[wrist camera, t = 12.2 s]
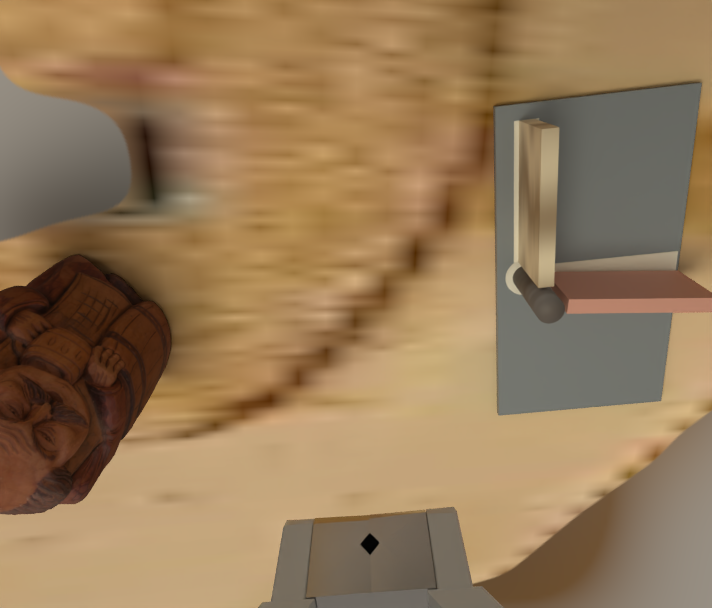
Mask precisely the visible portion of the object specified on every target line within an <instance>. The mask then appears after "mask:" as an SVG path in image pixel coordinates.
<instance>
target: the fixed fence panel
mask: <svg viewBox="0 0 712 608" xmlns="http://www.w3.org/2000/svg"><path fill="white" fill-rule="evenodd" d="M558 156H559V127H557V126H554V125H551V124H548V123H545V122H542V121H539V120H536V119H529V120H520V121H519V221H518V263H519V264H520V265H521V267H519V268H518V269H517V270H516V271H515V272H514V274H513V282H514V284H515V286H516V287H517V289H518V290H519V292H520V293H521V294H522V296H523V297H524V299H525V300H526V302H527V303H528V305H529V306H530V307H531V309H532V310H533V312H534V313H535V315H536V316H537V318H538V319H539V320H540V321H541V322H543V323H548V324H550V323H554V322H557V321H558V320H560V319H561V318H562V316H563V315H564V312H565V305H564V303H563V302H562V301H561V299H560V298H559V297H558V296H557V295H556V293H555V292H554V291H553V290H552V289H551V287H554V275H555V245H556V216H557V186H558Z"/></svg>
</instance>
